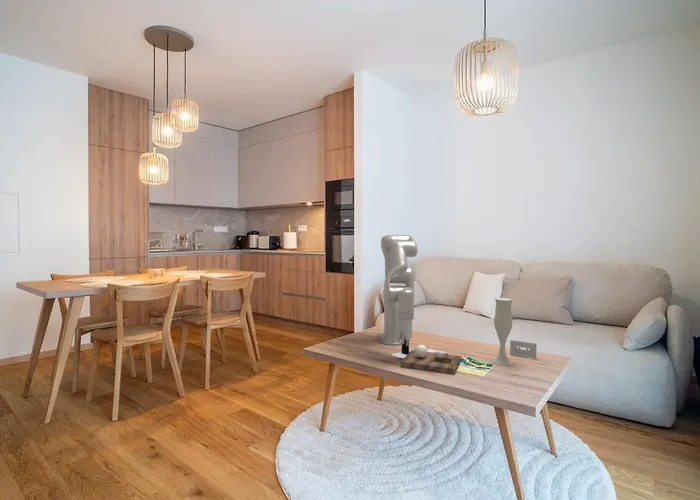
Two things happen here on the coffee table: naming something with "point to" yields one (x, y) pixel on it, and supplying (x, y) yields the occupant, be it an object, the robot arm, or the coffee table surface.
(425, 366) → the board
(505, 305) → the vase
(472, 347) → the coffee table surface
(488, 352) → the coffee table surface
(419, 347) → the ball
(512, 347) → the cassette
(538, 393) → the coffee table surface
